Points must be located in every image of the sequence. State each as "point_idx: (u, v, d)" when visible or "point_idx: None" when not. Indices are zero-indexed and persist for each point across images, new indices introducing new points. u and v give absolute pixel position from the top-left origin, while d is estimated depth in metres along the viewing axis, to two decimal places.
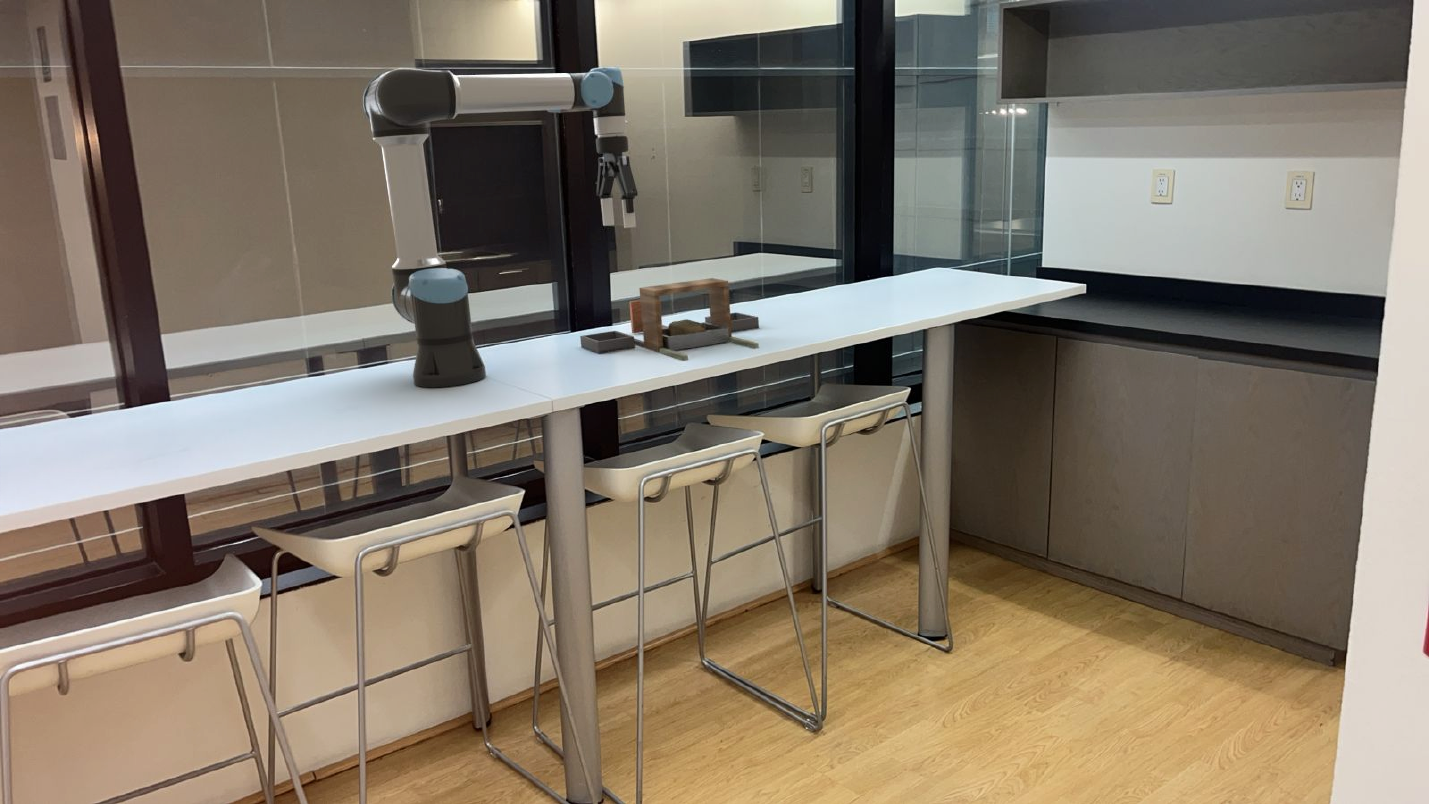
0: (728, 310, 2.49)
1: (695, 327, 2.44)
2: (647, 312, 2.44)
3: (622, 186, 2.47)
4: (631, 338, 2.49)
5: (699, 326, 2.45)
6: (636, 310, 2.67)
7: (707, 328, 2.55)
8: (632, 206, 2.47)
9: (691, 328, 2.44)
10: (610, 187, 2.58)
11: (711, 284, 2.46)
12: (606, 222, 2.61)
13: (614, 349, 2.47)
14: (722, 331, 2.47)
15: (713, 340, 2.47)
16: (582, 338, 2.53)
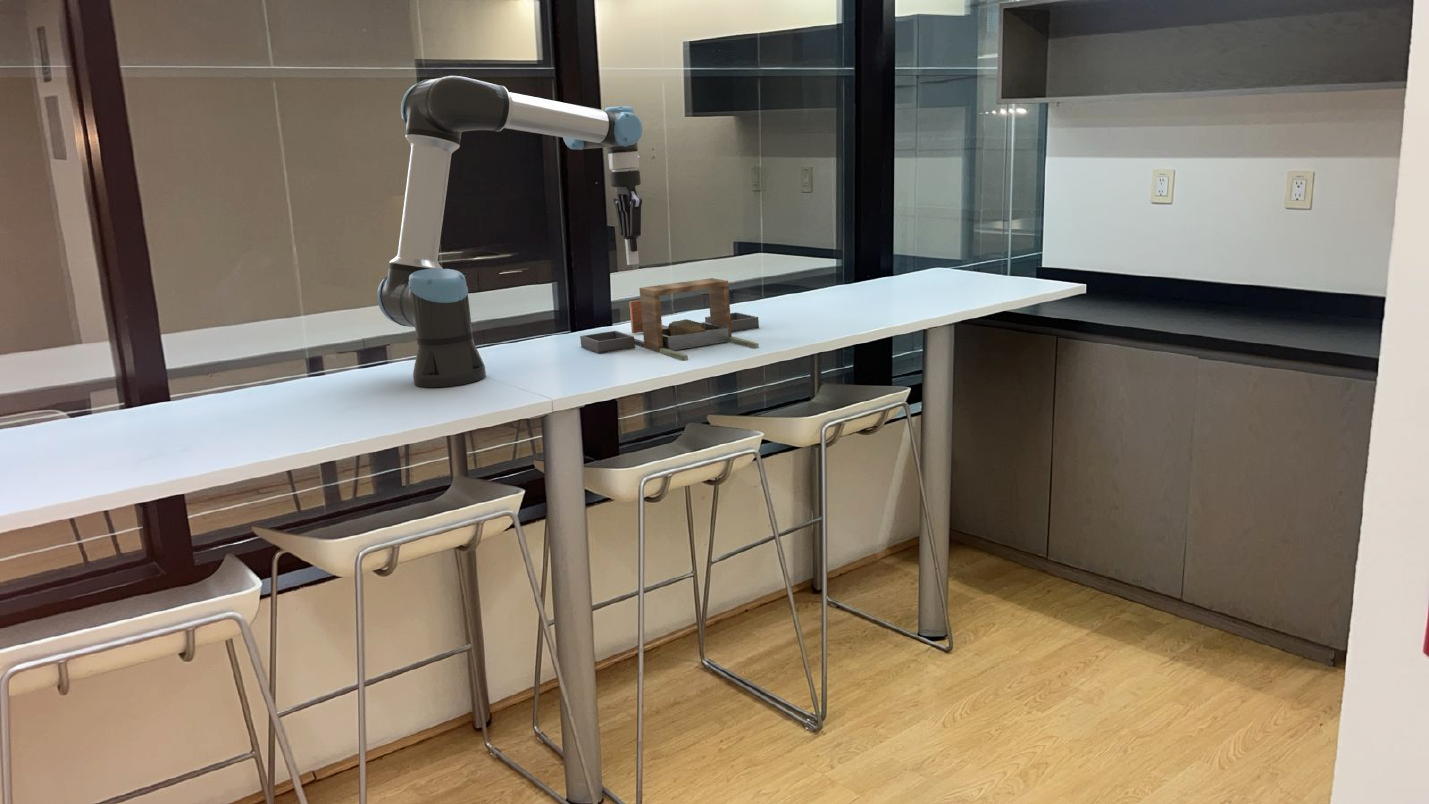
0: (728, 310, 2.49)
1: (695, 327, 2.44)
2: (647, 312, 2.44)
3: (629, 226, 2.67)
4: (631, 338, 2.49)
5: (699, 326, 2.45)
6: (636, 310, 2.67)
7: (707, 328, 2.55)
8: (635, 245, 2.69)
9: (691, 328, 2.44)
10: None
11: (711, 284, 2.46)
12: None
13: (614, 349, 2.47)
14: (722, 331, 2.47)
15: (713, 340, 2.47)
16: (582, 338, 2.53)
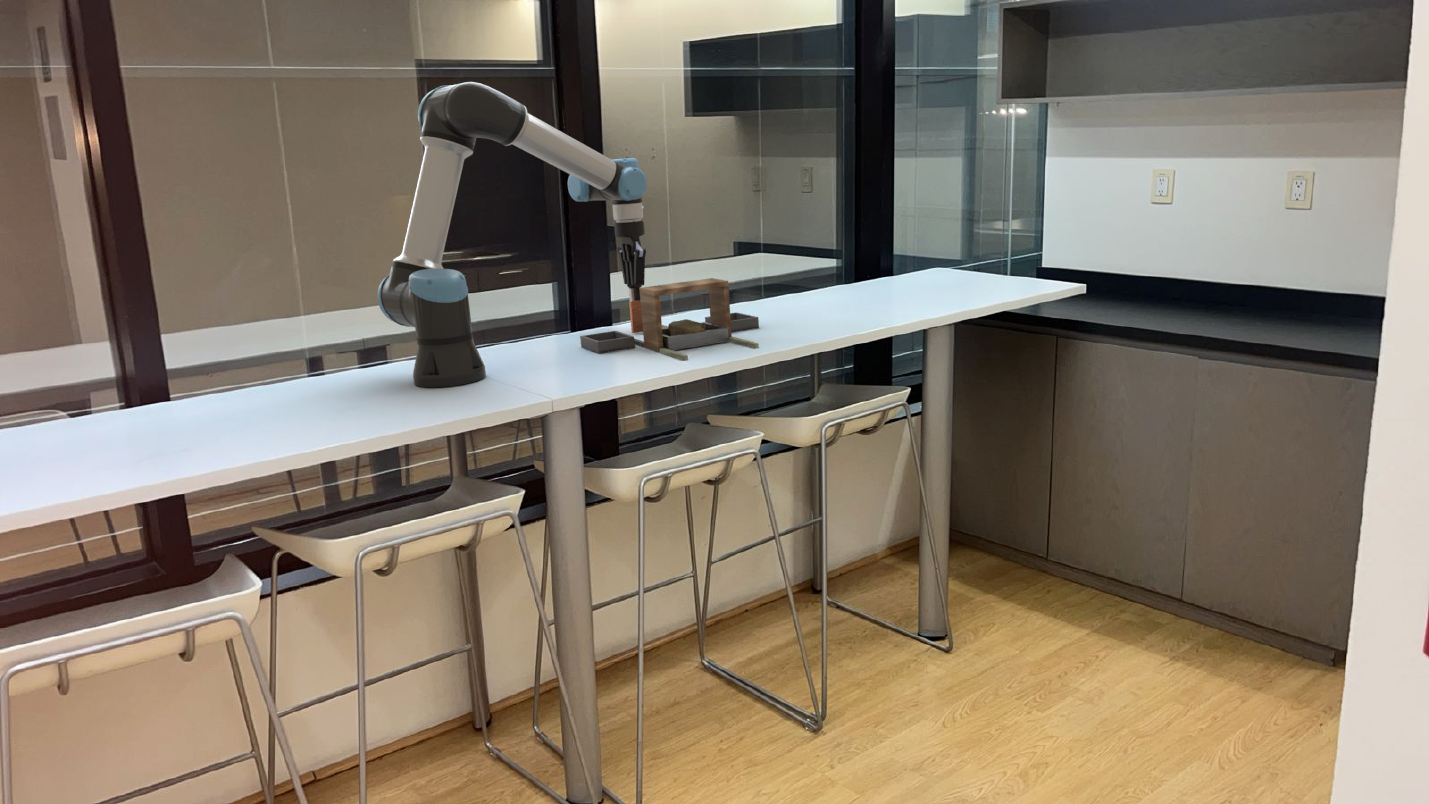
0: (728, 310, 2.49)
1: (695, 327, 2.44)
2: (647, 312, 2.44)
3: (633, 275, 2.70)
4: (631, 338, 2.49)
5: (699, 326, 2.45)
6: (635, 310, 2.67)
7: (707, 328, 2.56)
8: (639, 294, 2.71)
9: (691, 328, 2.44)
10: None
11: (711, 284, 2.46)
12: None
13: (614, 349, 2.47)
14: (722, 331, 2.47)
15: (713, 340, 2.47)
16: (582, 338, 2.53)
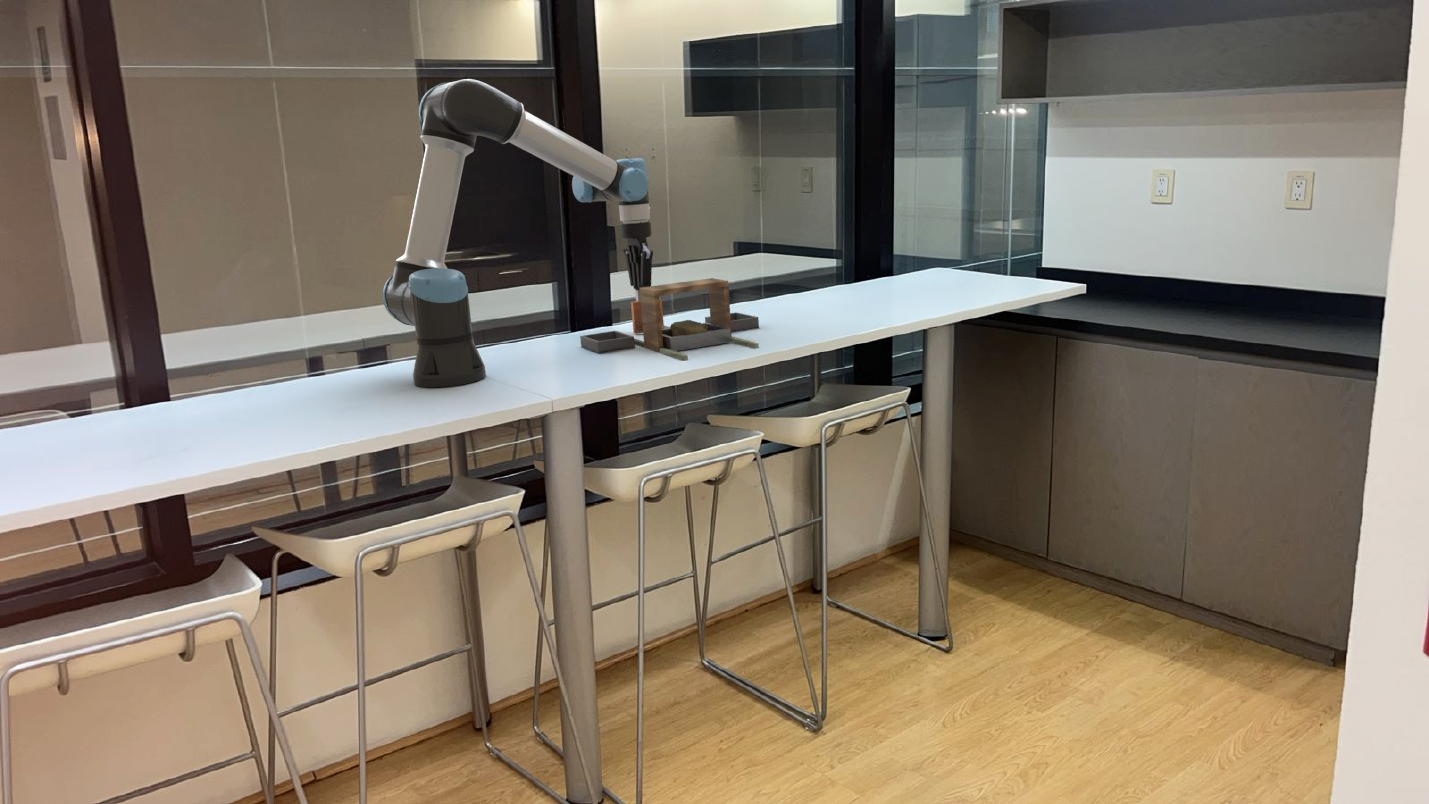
0: (728, 310, 2.49)
1: (697, 328, 2.43)
2: (647, 312, 2.44)
3: (639, 277, 2.66)
4: (631, 338, 2.49)
5: (701, 327, 2.44)
6: (637, 310, 2.66)
7: (709, 329, 2.55)
8: None
9: (693, 329, 2.43)
10: None
11: (711, 284, 2.46)
12: None
13: (614, 349, 2.47)
14: (724, 331, 2.46)
15: (715, 341, 2.46)
16: (582, 338, 2.53)
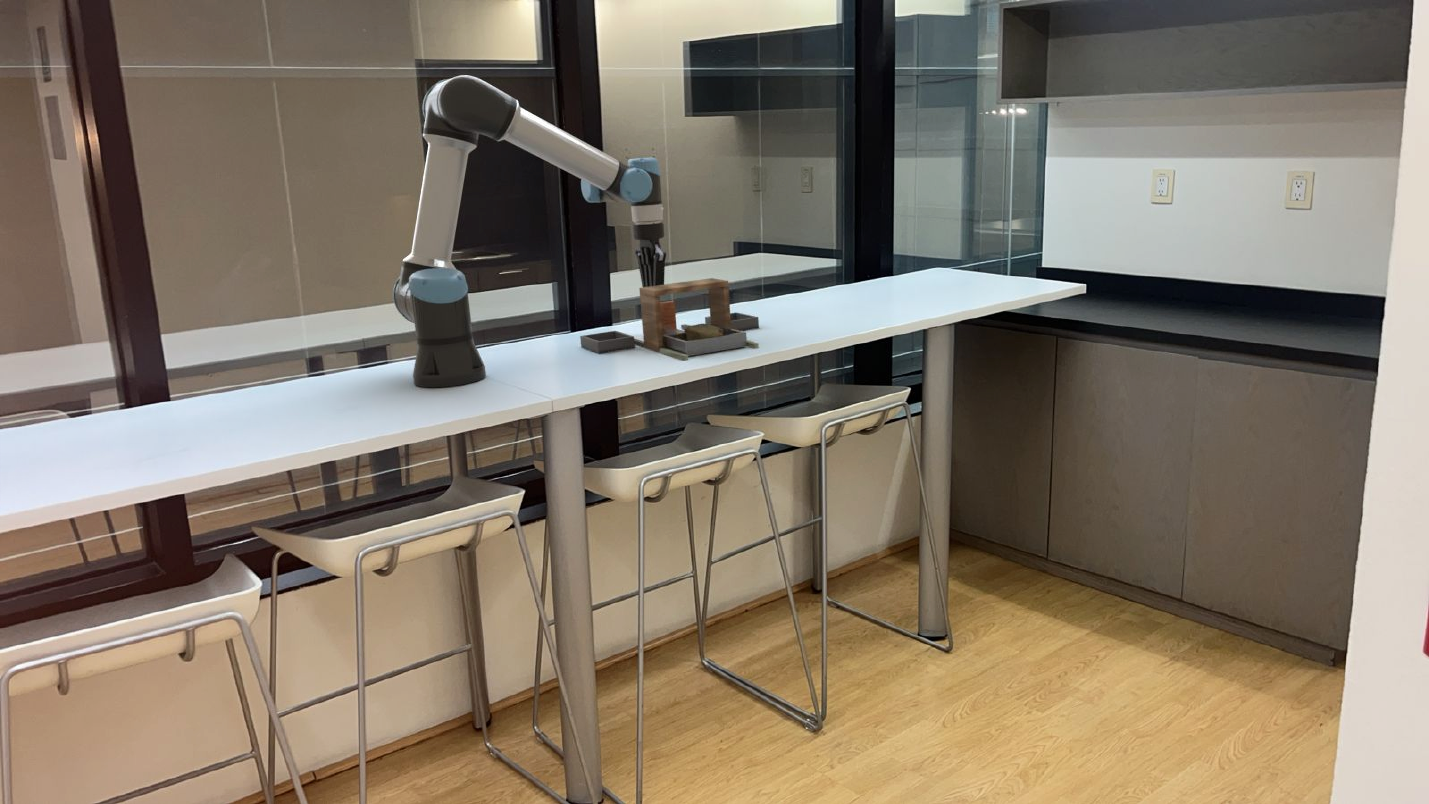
0: (728, 310, 2.49)
1: (712, 332, 2.37)
2: (647, 312, 2.44)
3: (652, 279, 2.60)
4: (631, 338, 2.49)
5: (716, 331, 2.37)
6: None
7: (724, 332, 2.48)
8: None
9: (708, 333, 2.37)
10: None
11: (711, 284, 2.46)
12: None
13: (614, 349, 2.47)
14: (740, 335, 2.40)
15: (731, 345, 2.39)
16: (582, 338, 2.53)
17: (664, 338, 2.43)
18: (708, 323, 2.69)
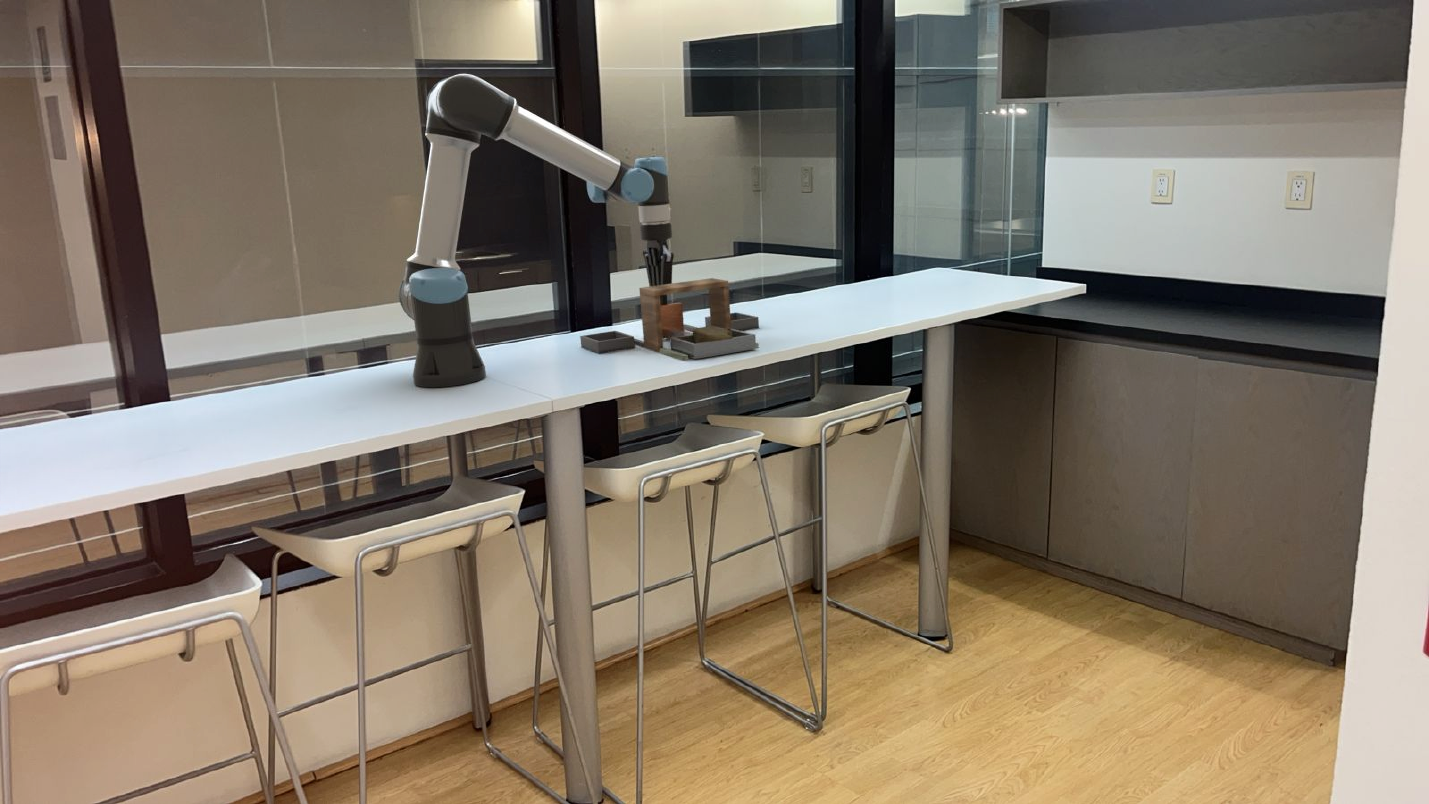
0: (728, 310, 2.49)
1: (721, 334, 2.33)
2: (647, 312, 2.44)
3: (659, 281, 2.56)
4: (631, 338, 2.49)
5: (725, 333, 2.34)
6: None
7: (733, 335, 2.44)
8: (666, 300, 2.58)
9: (717, 335, 2.33)
10: None
11: (711, 284, 2.46)
12: None
13: (614, 349, 2.47)
14: (749, 338, 2.36)
15: (740, 347, 2.36)
16: (582, 338, 2.53)
17: (672, 341, 2.39)
18: (708, 323, 2.69)
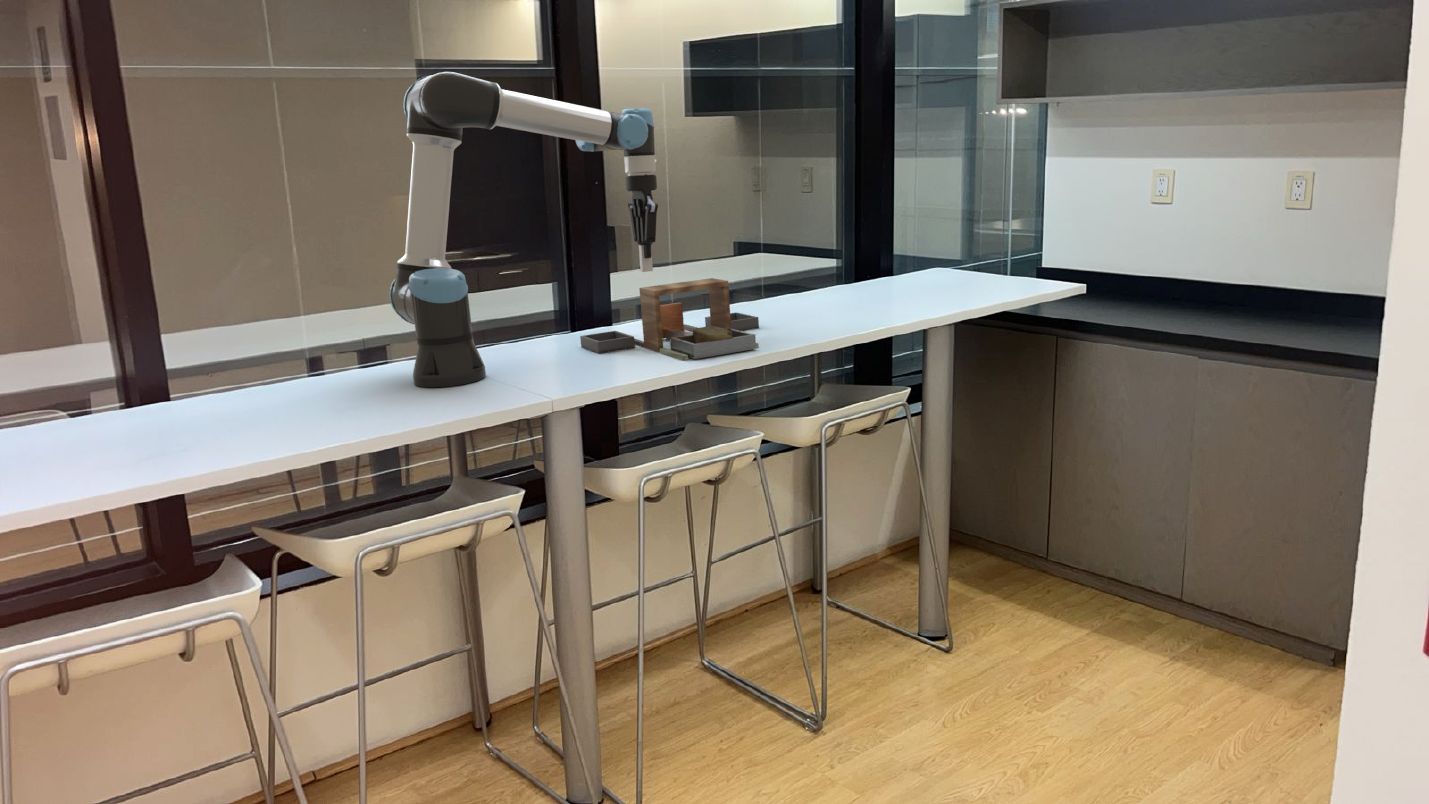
0: (728, 310, 2.49)
1: (721, 334, 2.33)
2: (647, 312, 2.44)
3: (643, 232, 2.59)
4: (631, 338, 2.49)
5: (725, 333, 2.34)
6: None
7: (733, 335, 2.44)
8: (650, 251, 2.60)
9: (717, 335, 2.33)
10: None
11: (711, 284, 2.46)
12: None
13: (614, 349, 2.47)
14: (749, 338, 2.36)
15: (740, 347, 2.36)
16: (582, 338, 2.53)
17: (672, 341, 2.39)
18: (708, 323, 2.69)
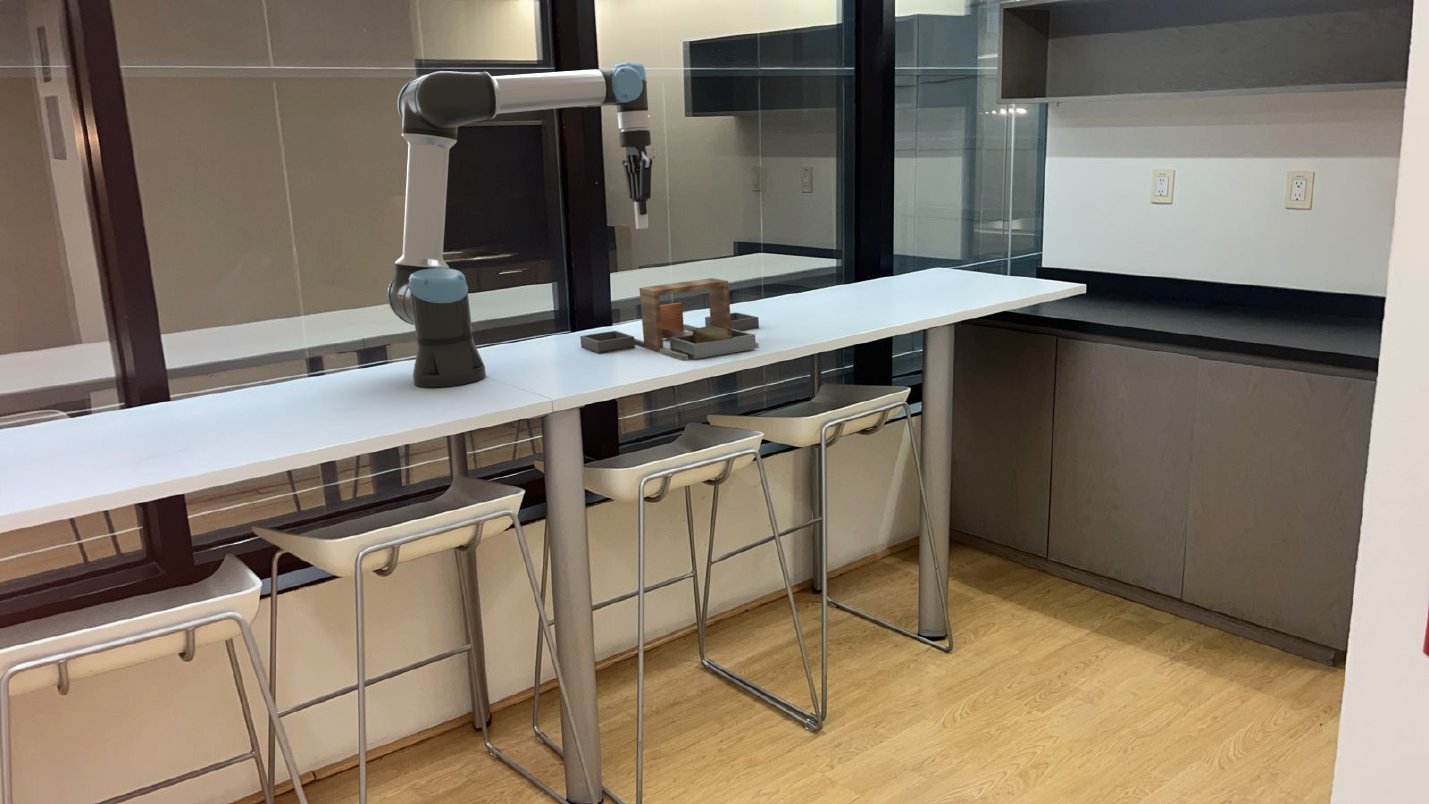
0: (728, 310, 2.49)
1: (721, 334, 2.33)
2: (647, 312, 2.44)
3: (638, 188, 2.58)
4: (631, 338, 2.49)
5: (725, 333, 2.34)
6: None
7: (732, 335, 2.45)
8: (645, 208, 2.59)
9: (717, 335, 2.33)
10: None
11: (711, 284, 2.46)
12: None
13: (614, 349, 2.47)
14: (749, 338, 2.36)
15: (740, 347, 2.36)
16: (582, 338, 2.53)
17: (672, 341, 2.39)
18: (708, 323, 2.69)
